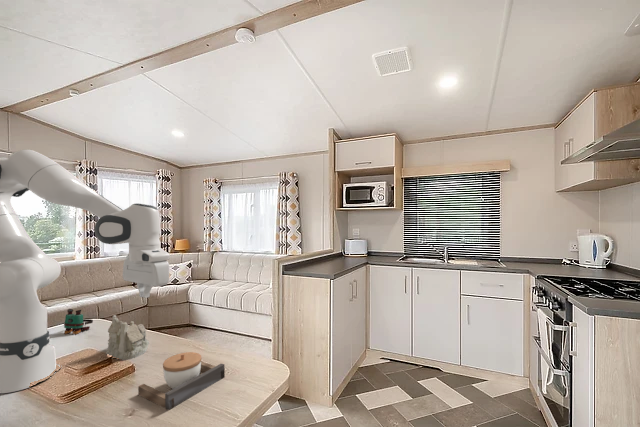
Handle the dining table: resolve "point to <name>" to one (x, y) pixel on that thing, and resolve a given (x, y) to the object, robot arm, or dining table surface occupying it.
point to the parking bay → (184, 387)
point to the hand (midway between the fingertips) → (144, 297)
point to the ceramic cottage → (126, 340)
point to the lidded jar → (181, 368)
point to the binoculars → (75, 322)
